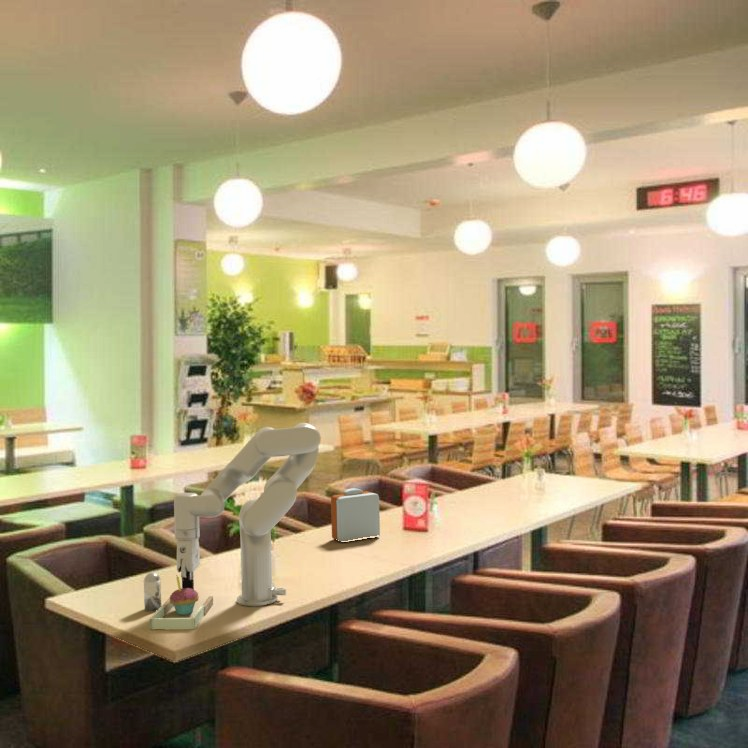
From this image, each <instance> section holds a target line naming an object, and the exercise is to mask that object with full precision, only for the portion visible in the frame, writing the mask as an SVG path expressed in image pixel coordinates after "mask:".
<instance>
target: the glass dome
mask: <svg viewBox="0 0 748 748" xmlns="http://www.w3.org/2000/svg"><path fill="white" fill-rule="evenodd" d="M161 579H162V578H161V577H160V575H159V574H158V573H156V572H149V573H147V574H146V575H145V577H144V580H143V594H144V595H143V599H144V602H143V603H144V611H145V612H148V611H153V612H156V610H158V609H159V608H160V607H161V606H162V586H161V585H162V581H161Z"/></svg>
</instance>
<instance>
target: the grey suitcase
mask: <svg viewBox="0 0 748 748" xmlns="http://www.w3.org/2000/svg"><path fill="white" fill-rule="evenodd" d="M330 507H331V508H330V513H331V514H330V515H331V516H330V517H331V538H332V539H333V538H334V539H337V540H339V541H348V540H353V539H358V538H363V537H370V536H377V535H379V536H380V535H381V530H380V529H381V528H380V527H381V525H380V524H381V523H380V521H381V520H380V496H379V494H378V493H375V492H371V491H367V490H365V491H363V489H359V488H354V487H353V488H348V489H345V490H344V491H343V493H342V494H334V495H332V496H331V497H330ZM334 539H333V540H334ZM337 540H336V541H337ZM339 541H338V542H339Z"/></svg>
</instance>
